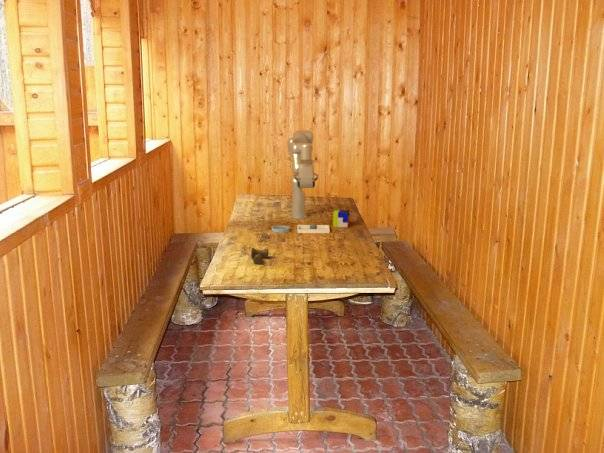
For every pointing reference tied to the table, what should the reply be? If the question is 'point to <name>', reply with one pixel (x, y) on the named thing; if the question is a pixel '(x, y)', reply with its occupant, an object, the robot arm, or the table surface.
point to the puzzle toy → (341, 218)
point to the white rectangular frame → (307, 230)
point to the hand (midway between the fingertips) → (306, 187)
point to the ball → (313, 226)
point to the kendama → (258, 255)
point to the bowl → (280, 229)
